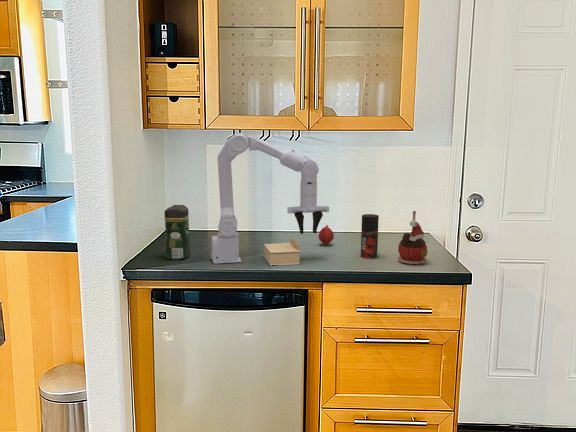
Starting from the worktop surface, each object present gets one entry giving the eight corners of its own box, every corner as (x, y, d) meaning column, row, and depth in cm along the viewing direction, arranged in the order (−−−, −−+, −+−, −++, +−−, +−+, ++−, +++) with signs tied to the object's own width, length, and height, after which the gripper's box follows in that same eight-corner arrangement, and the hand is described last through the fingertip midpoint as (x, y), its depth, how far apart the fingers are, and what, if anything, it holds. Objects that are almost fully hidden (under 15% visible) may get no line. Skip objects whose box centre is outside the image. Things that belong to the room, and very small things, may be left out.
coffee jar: (170, 253, 201) (168, 203, 198) (191, 253, 201) (190, 203, 197) (163, 260, 192) (161, 207, 188) (186, 260, 191) (184, 208, 188)
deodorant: (379, 255, 200) (381, 215, 197) (373, 259, 195) (374, 217, 192) (364, 253, 203) (365, 213, 200) (357, 257, 198) (359, 216, 195)
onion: (321, 247, 212) (321, 226, 211) (316, 243, 218) (316, 223, 216) (335, 246, 214) (336, 226, 212) (330, 243, 219) (330, 223, 218)
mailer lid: (270, 253, 185) (270, 246, 184) (263, 245, 196) (263, 238, 196) (300, 252, 187) (300, 245, 187) (291, 243, 199) (291, 237, 198)
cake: (409, 256, 199) (411, 207, 195) (432, 262, 192) (434, 211, 189) (391, 262, 192) (393, 211, 188) (414, 267, 185) (417, 214, 182)
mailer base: (270, 265, 186) (270, 254, 185) (264, 256, 197) (264, 246, 196) (299, 264, 188) (299, 252, 187) (291, 255, 199) (291, 244, 199)
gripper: (290, 196, 185) (290, 236, 187) (332, 195, 188) (331, 234, 191) (286, 193, 192) (285, 232, 194) (326, 192, 195) (325, 230, 197)
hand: (308, 233), depth 193 cm, fingers open, 4 cm apart
